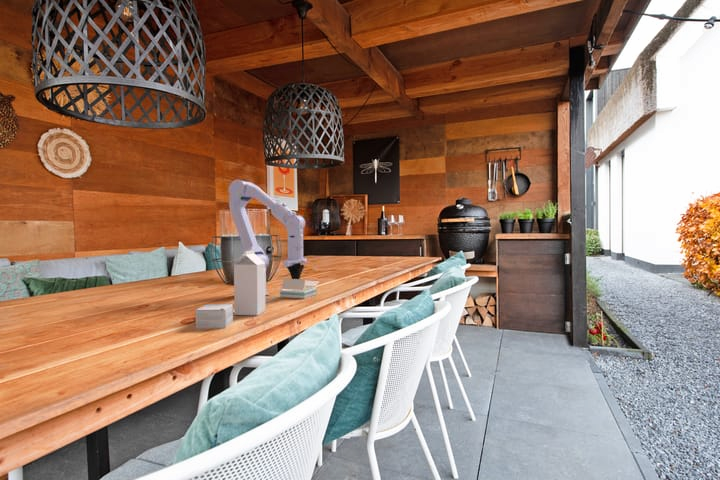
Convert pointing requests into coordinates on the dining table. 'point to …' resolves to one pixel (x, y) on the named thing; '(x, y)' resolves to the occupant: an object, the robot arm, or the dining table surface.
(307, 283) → the flap far
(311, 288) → the carton
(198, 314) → the small box
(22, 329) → the dining table surface
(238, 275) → the milk carton
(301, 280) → the flap near
